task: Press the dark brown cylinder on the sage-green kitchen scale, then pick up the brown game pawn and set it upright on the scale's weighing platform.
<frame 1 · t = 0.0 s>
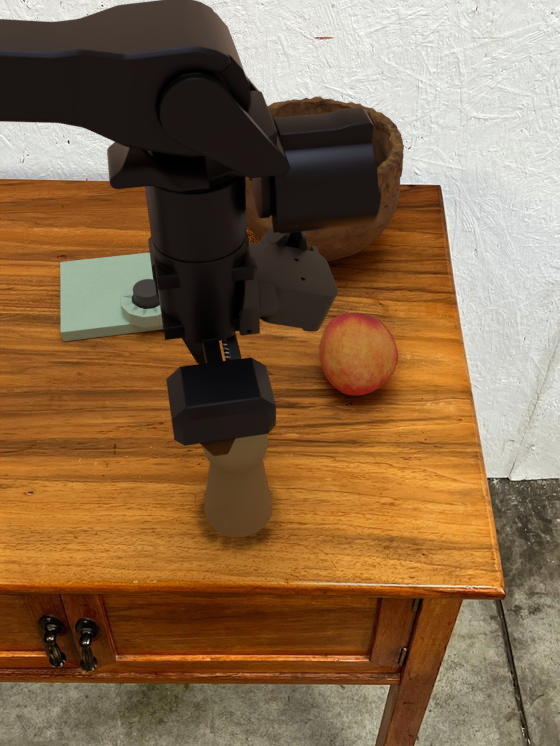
hand: (212, 405, 58), 14 cm above the table, tool pointing down, fingers open, 9 cm apart
fruit: (354, 381, 79), on the table
brown game pawn: (238, 508, 68), on the table
dark brown cylinder: (147, 294, 82), point 4 cm above the table, slide at 0.1 cm
bowl: (313, 245, 95), on the table
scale: (117, 298, 87), on the table
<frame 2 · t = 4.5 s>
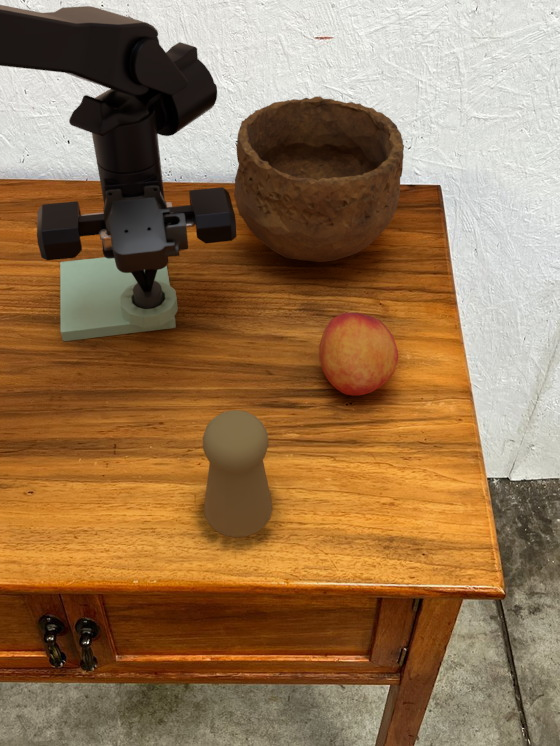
hand: (147, 288, 82), 4 cm above the table, tool pointing down, fingers closed, pressing on dark brown cylinder
dark brown cylinder: (148, 294, 82), point 3 cm above the table, slide at 0.0 cm, touching gripper
everything else where it was.
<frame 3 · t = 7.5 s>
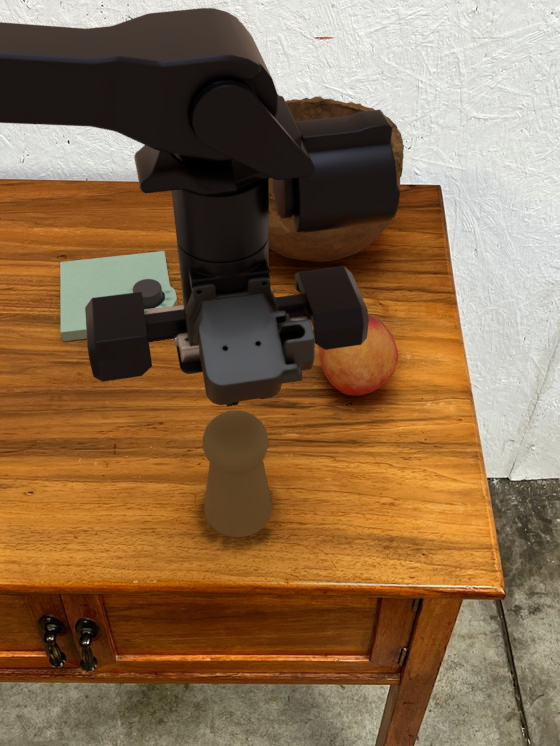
hand: (231, 401, 59), 13 cm above the table, tool pointing down, fingers closed
dark brown cylinder: (147, 294, 82), point 4 cm above the table, slide at 0.1 cm
everything else where it was.
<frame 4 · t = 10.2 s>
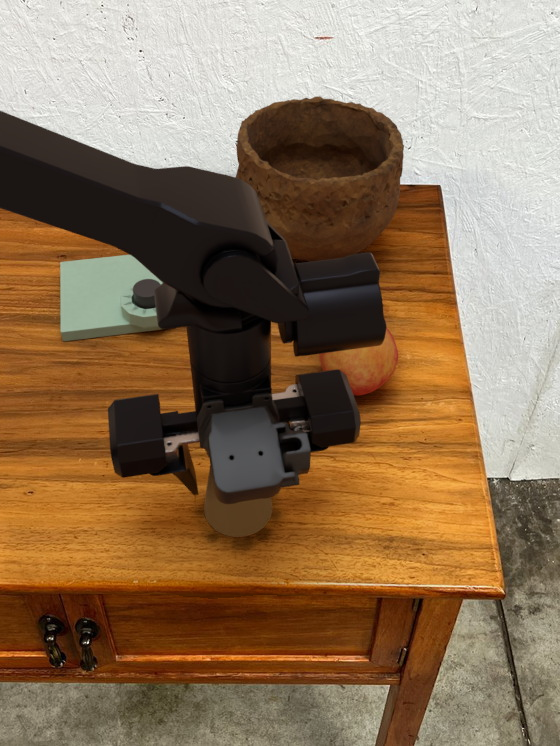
hand: (237, 484, 66), 3 cm above the table, tool pointing down, fingers closed on brown game pawn, 7 cm apart
brown game pawn: (238, 508, 68), on the table, touching gripper
everything else where it was.
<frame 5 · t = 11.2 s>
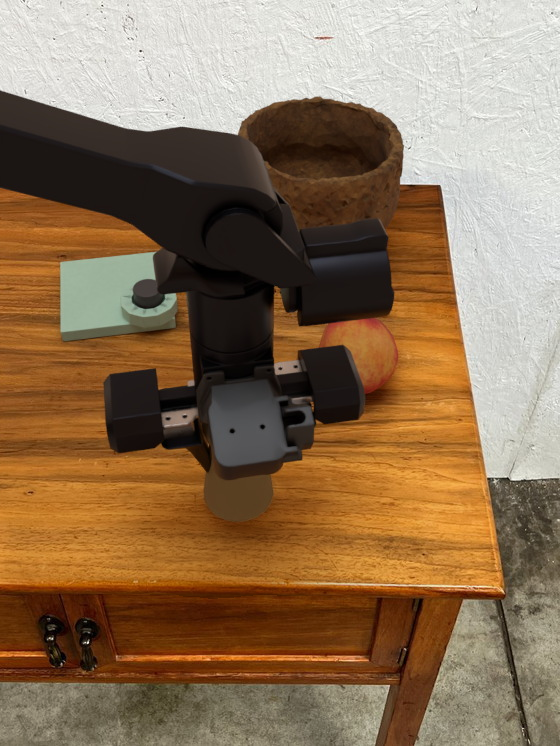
hand: (236, 464, 64), 6 cm above the table, tool pointing down, fingers closed on brown game pawn, 4 cm apart
brown game pawn: (238, 493, 67), point 2 cm above the table, touching gripper
everything else where it was.
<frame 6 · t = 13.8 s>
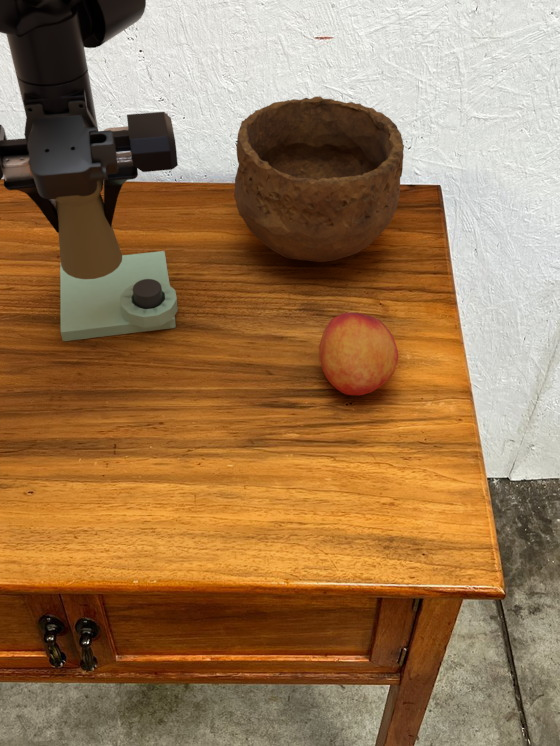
hand: (84, 227, 74), 13 cm above the table, tool pointing down, fingers closed on brown game pawn, 4 cm apart
brown game pawn: (92, 261, 77), point 9 cm above the table, touching gripper
everything else where it was.
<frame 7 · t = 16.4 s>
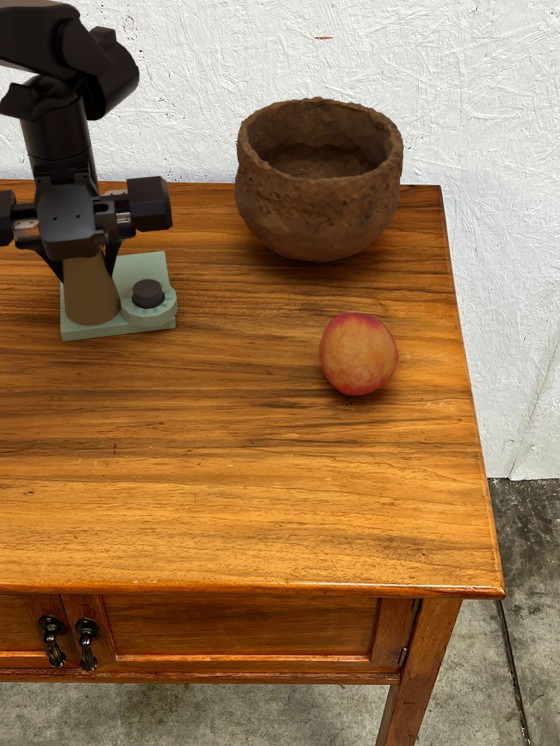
hand: (87, 279, 81), 5 cm above the table, tool pointing down, fingers closed on brown game pawn, 4 cm apart
brown game pawn: (93, 308, 84), point 1 cm above the table, touching gripper, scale
everything else where it was.
when the fingers open (5 cm above the table, at t = 16.5 s): brown game pawn stays where it is, resting on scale.
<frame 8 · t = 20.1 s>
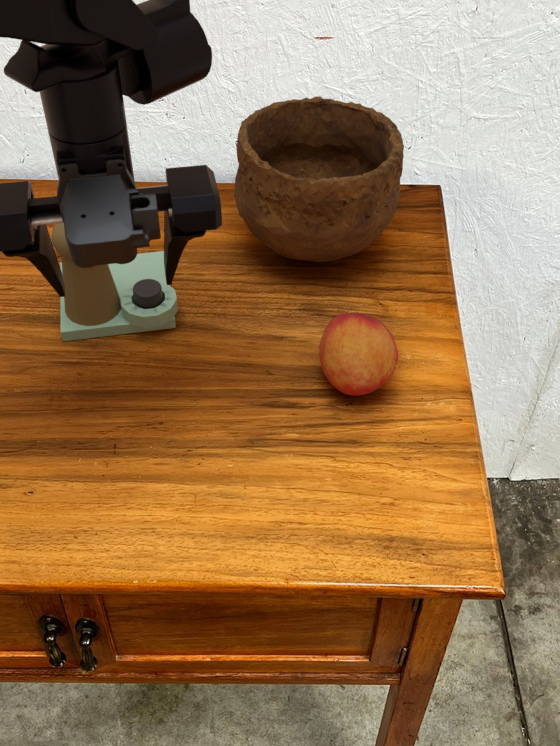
hand: (116, 287, 68), 13 cm above the table, tool pointing down, fingers open, 9 cm apart
brown game pawn: (93, 308, 84), point 1 cm above the table, touching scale
everything else where it was.
at the end: dark brown cylinder pushed in 0.9 cm at the most during the clip, back to where it started at the end; brown game pawn inside the target area on the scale (1.8 cm from its centre), point 1.2 cm above the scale's base; brown game pawn touching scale; brown game pawn tilted 0° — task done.
